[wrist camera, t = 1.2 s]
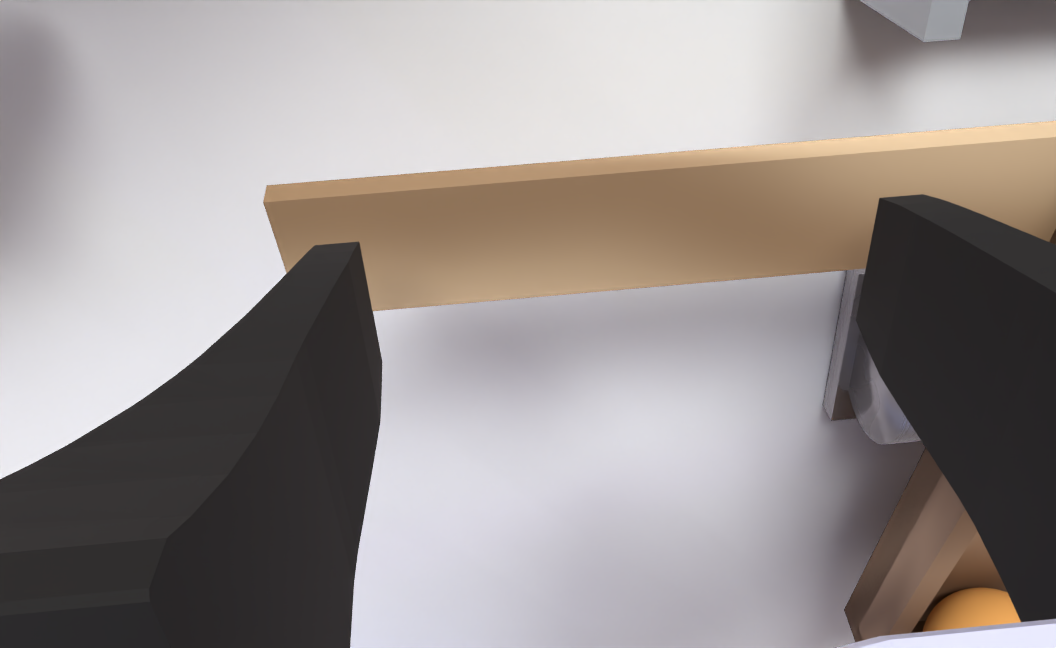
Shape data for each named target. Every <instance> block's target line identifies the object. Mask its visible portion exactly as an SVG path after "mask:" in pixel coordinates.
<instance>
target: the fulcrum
mask: <svg viewBox="0 0 1056 648" xmlns="http://www.w3.org/2000/svg"><path fill="white" fill-rule="evenodd" d="M864 275H865V269H854V270H847V274H846V279H845V285H844V291H843V296H842V302H841V307H840V313H839V319H838V324H837V330H836V335H835V341H834V347H833V352H832V358H831V363H830V369H829V375H828V380H827V386H826V391H825V397H824V403H823V406H824V408H825V410H826V412H827V414H828V416H829V417H830V419H831V420H842V419H852V418H857V419H858V422H859V423H860V425H861V427H862V429H863V430H864V432H865V433H866V434H867V436H868V437H869V438H870V439H871V440H872V441H874V442H876V443H878V444H883V445H885V444H895V443H906V442H917V441H921V440H920V438H919V436H918V435H917V433H916V432H915V430H914V429H913V427H912V426H911V424H910V423H909V421H908V420H907V418H906V417H905V415H904V413H903V412H902V410H901V409H900V407H899V406H898V404H897V402H896V401H895V399H894V398H893V396H892V395H891V393H890V391H889V390H888V388H887V387H886V385H885V383H884V382H883V380H882V378H881V377H880V375H879V373H878V371H877V368H876V366H875V364H874V362H873V360H872V358H871V355H870V353H869V351H868V349H867V346H866V344H865V341H864V339H863V337H862V334H861V332H860V329H859V327H858V325H857V322H856V316H857V311H858V306H859V301H860V295H861V290H862V285H863V280H864Z"/></svg>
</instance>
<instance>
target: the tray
mask: <svg viewBox="0 0 1056 648" xmlns="http://www.w3.org/2000/svg"><path fill="white" fill-rule="evenodd" d="M860 1H861V2H863V3H864V4H866V5H867V6H869V7H870V8H872V9H873V10H875V11H876V12H878V13H880V14H881V15H883V16H884V17H886V18H887V19H889V20H890V21H892V22H893V23H895V24H896V25H898V26H899V27H901V28H903V29H904V30H906V31H907V32H909V33H910V34H912V35H913V36H915V37H916V38H918V39H919V40H921V41H922V42H932V41H945V40H958V39H960V38H961V34H962V30H963V25H964V21H965V16H966V12H967V7H968V3H969V0H860Z"/></svg>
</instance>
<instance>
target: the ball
mask: <svg viewBox="0 0 1056 648" xmlns="http://www.w3.org/2000/svg"><path fill="white" fill-rule="evenodd" d="M1019 622H1021V621H1020V619H1019V616H1018V614H1017V612H1016V610H1015V608H1014V605H1013V603H1012V601H1011V599H1010V597H1009V594H1008V592H1005V591H1001V590H998V589H993V588H983V587H979V588H969V589H964V590H960V591H957V592H955V593H953V594H951V595H949V596H947V597H945V598H944V599H942V600H941V601H940V602H939V603H938V604H937V605H936V606H935V607H934V608H933V610H932V611H931V612H930V614H929V615H928V617H927V620H926V622H925V624H924V628H923V632H927V631H937V630H948V629H958V628H968V627H978V626H988V625H998V624H1009V623H1019Z"/></svg>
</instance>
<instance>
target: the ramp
mask: <svg viewBox="0 0 1056 648" xmlns="http://www.w3.org/2000/svg"><path fill="white" fill-rule="evenodd" d="M920 194H924V195H928V196H932V197H935V198H939V199H942V200H945V201H948V202H951V203H954V204H956V205H959V206H962V207H964V208H967V209H970V210H972V211H975V212H977V213H980V214H982V215H985V216H987V217H990V218H992V219H994V220H997V221H999V222H1002V223H1004V224H1007V225H1009V226H1011V227H1014V228H1016V229H1019V230H1021V231H1023V232H1026V233H1028V234H1031V235H1033V236H1036V237H1038V238H1040V239H1043V240H1045V241H1048V242H1050V243H1053V244H1055V245H1056V121H1048V122H1036V123H1023V124H1011V125H999V126H987V127H975V128H962V129H950V130H938V131H926V132H914V133H901V134H889V135H877V136H865V137H853V138H840V139H828V140H816V141H804V142H792V143H780V144H767V145H755V146H743V147H731V148H719V149H706V150H694V151H682V152H670V153H658V154H645V155H633V156H621V157H609V158H597V159H584V160H572V161H560V162H548V163H536V164H523V165H511V166H499V167H487V168H475V169H462V170H450V171H438V172H426V173H414V174H401V175H389V176H377V177H365V178H353V179H340V180H328V181H316V182H304V183H292V184H279V185H267V187H266V192H265V197H264V202H263V203H264V206H265V209H266V212H267V215H268V218H269V221H270V224H271V227H272V230H273V233H274V236H275V239H276V242H277V245H278V248H279V251H280V254H281V257H282V260H283V263H284V266H285V269H286V272H287V273H288V272H289V271H290V270H291V268H292V267H293V266H294V265H295V264H296V263H297V262H298V261H299V260H300V259H301V258H302V257H303V256H304V255H305V254H306V253H307V252H308V251H309V250H310V249H311V248H312V247H313V246H315V245H324V244H336V243H347V242H360V248H361V253H362V258H363V263H364V269H365V274H366V279H367V285H368V290H369V295H370V300H371V306H372V311H380V310H391V309H403V308H414V307H426V306H438V305H449V304H461V303H472V302H484V301H495V300H507V299H519V298H530V297H542V296H553V295H565V294H576V293H588V292H600V291H611V290H623V289H634V288H646V287H657V286H669V285H681V284H692V283H704V282H715V281H727V280H739V279H750V278H762V277H773V276H785V275H796V274H808V273H820V272H831V271H843V270H854V269H866V264H867V259H868V254H869V249H870V244H871V238H872V233H873V228H874V223H875V218H876V213H877V207H878V202H879V198H884V197H896V196H908V195H920ZM979 587H983V588H993V589H998V590H1001V591H1005V592H1007V590H1006V588H1005V586H1004V584H1003V582H1002V580H1001V578H1000V576H999V573H998V571H997V569H996V567H995V565H994V563H993V561H992V559H991V557H990V555H989V553H988V551H987V549H986V547H985V545H984V543H983V541H982V539H981V537H980V535H979V533H978V531H977V529H976V527H975V525H974V523H973V522H972V520H971V518H970V517H969V515H968V513H967V511H966V510H965V508H964V506H963V505H962V503H961V501H960V499H959V498H958V496H957V495H956V493H955V492H954V490H953V488H952V487H951V485H950V484H949V482H948V481H947V479H946V478H945V476H944V475H943V473H942V472H941V470H940V469H939V467H938V466H937V464H936V462H935V461H934V459H933V458H932V456H931V455H930V453H929V452H928V450H927V449H926V448H925V450H924V452H923V454H922V456H921V458H920V460H919V462H918V464H917V466H916V468H915V470H914V472H913V474H912V476H911V478H910V480H909V482H908V484H907V486H906V488H905V490H904V492H903V494H902V496H901V498H900V500H899V502H898V504H897V506H896V508H895V510H894V512H893V514H892V516H891V518H890V520H889V522H888V524H887V526H886V528H885V530H884V532H883V534H882V536H881V538H880V540H879V542H878V544H877V546H876V548H875V550H874V552H873V554H872V556H871V558H870V560H869V562H868V563H867V565H866V567H865V569H864V571H863V573H862V575H861V577H860V579H859V581H858V583H857V585H856V587H855V589H854V591H853V593H852V595H851V597H850V599H849V601H848V603H847V605H846V607H845V609H844V611H845V614H846V616H847V619H848V622H849V625H850V628H851V631H852V633H853V636H854V639H855V642H859V641H863V640H867V639H871V638H875V637H879V636H887V635H897V634H907V633H917V632H923V628H924V624H925V622H926V620H927V617H928V615H929V614H930V612H931V611H932V610H933V608H934V607H935V606H936V605H937V604H938V603H939V602H940V601H941V600H942V599H944V598H945V597H947V596H949V595H951V594H953V593H955V592H957V591H960V590H964V589H969V588H979Z"/></svg>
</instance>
